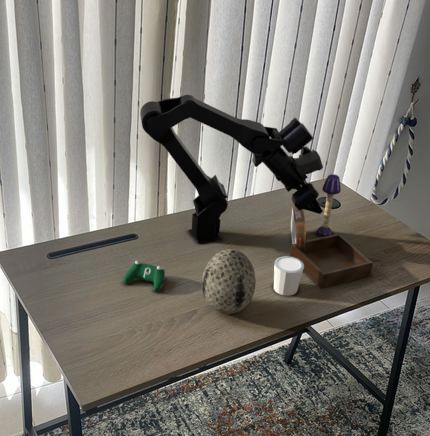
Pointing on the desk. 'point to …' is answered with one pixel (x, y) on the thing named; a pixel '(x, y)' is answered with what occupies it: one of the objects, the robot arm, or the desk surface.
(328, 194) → the toy lamp
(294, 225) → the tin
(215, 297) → the decorative egg
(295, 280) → the white short cylinder
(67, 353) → the desk surface
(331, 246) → the wooden tray
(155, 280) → the gaming controller
